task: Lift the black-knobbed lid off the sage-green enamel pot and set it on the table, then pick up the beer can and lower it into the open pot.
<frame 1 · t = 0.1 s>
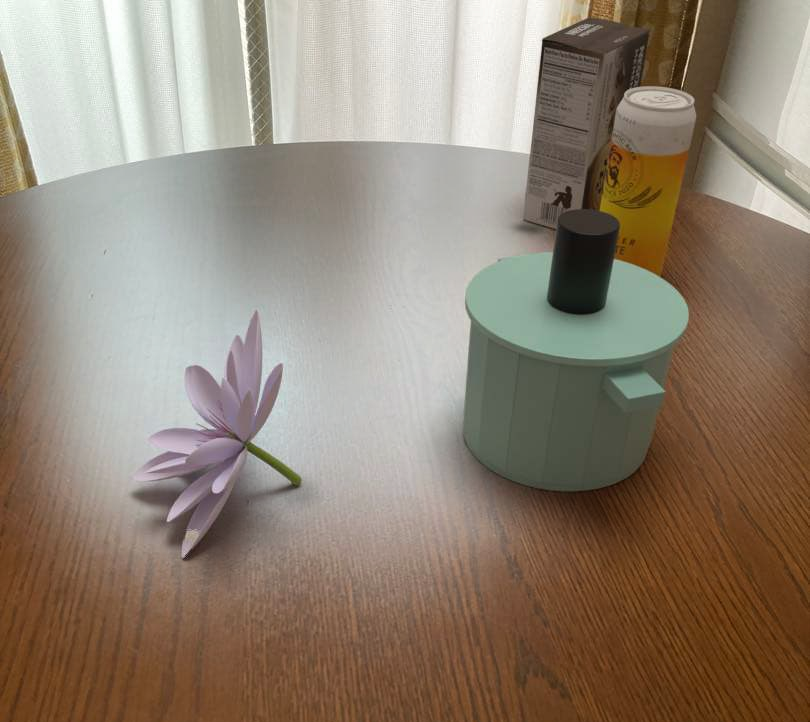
water lily: (218, 491, 58), on the table
coffee box: (571, 215, 91), on the table
pot: (554, 433, 63), on the table
lid: (574, 307, 57), point 9 cm above the table, touching pot
beer can: (623, 281, 81), on the table
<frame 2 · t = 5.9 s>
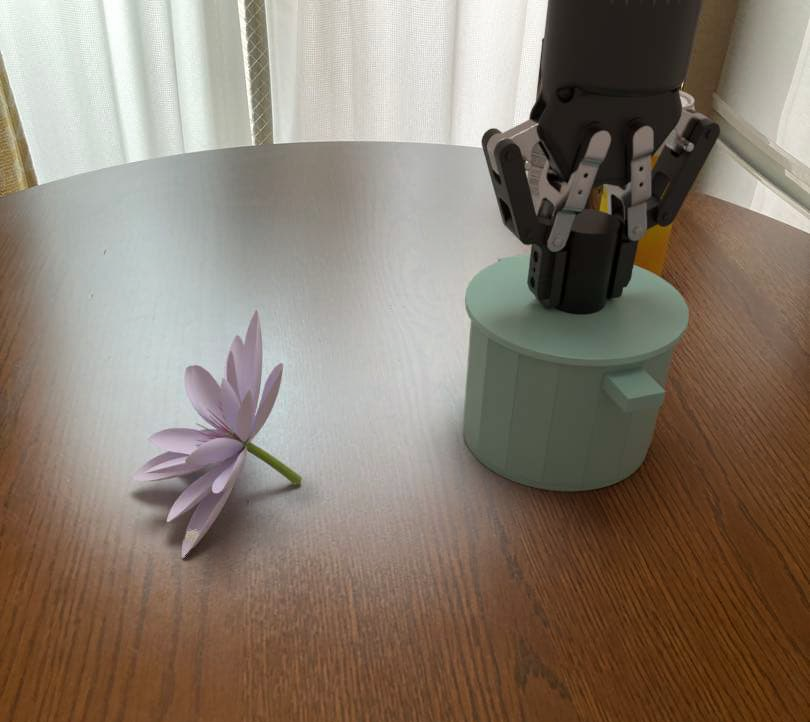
hand: (577, 295, 56), 10 cm above the table, tool pointing down, fingers closed on lid, 3 cm apart
lid: (575, 307, 57), point 10 cm above the table, touching gripper, pot
everything else where it was.
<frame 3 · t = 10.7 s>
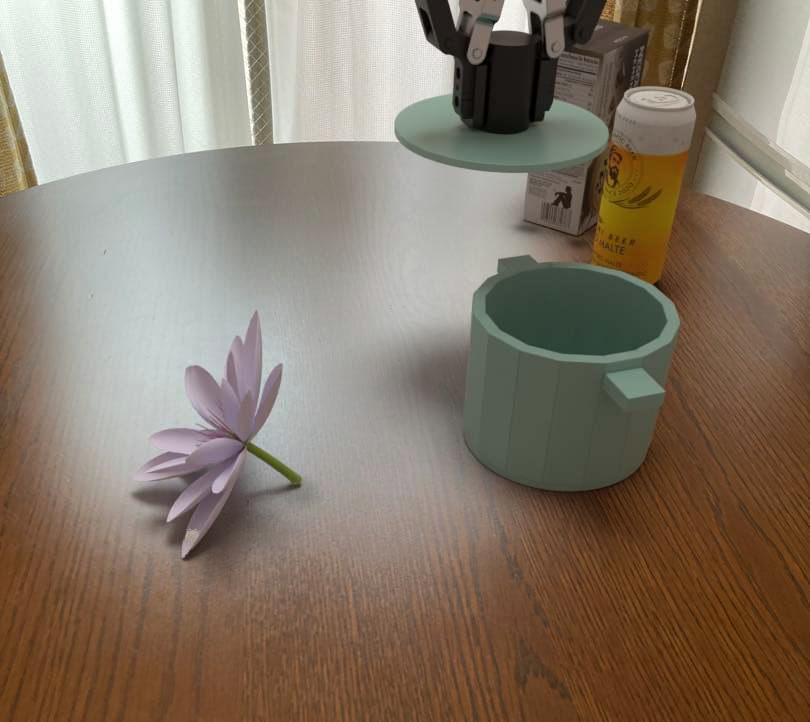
hand: (501, 119, 58), 17 cm above the table, tool pointing down, fingers closed on lid, 3 cm apart
lid: (500, 133, 59), point 17 cm above the table, touching gripper
everything else where it was.
when the fingers open (1 cm above the table, at t = 15.7 s): lid stays where it is, point 1 cm above the table.
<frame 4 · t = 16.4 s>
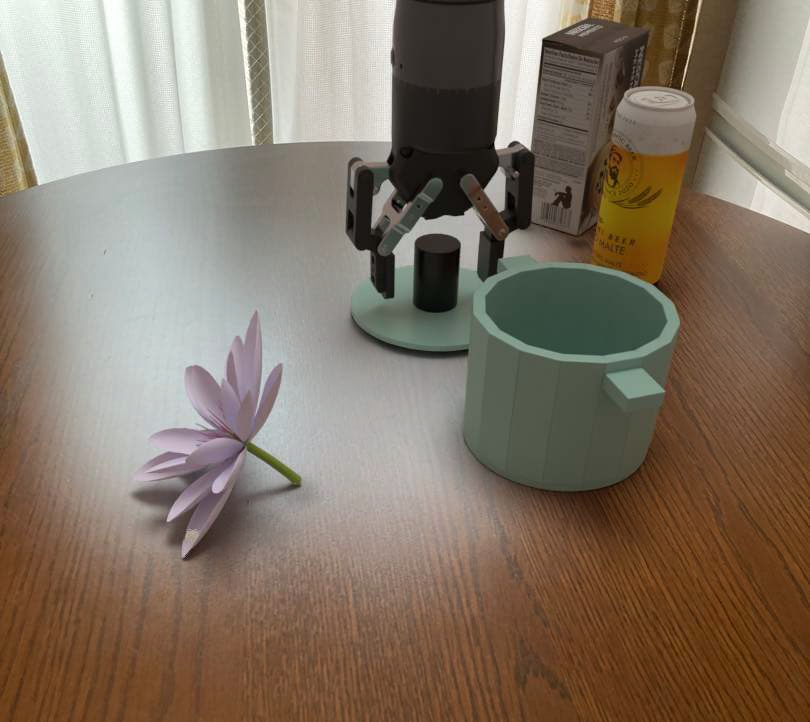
hand: (436, 287, 74), 2 cm above the table, tool pointing down, fingers open, 8 cm apart
lid: (434, 307, 75), point 1 cm above the table
everything else where it was.
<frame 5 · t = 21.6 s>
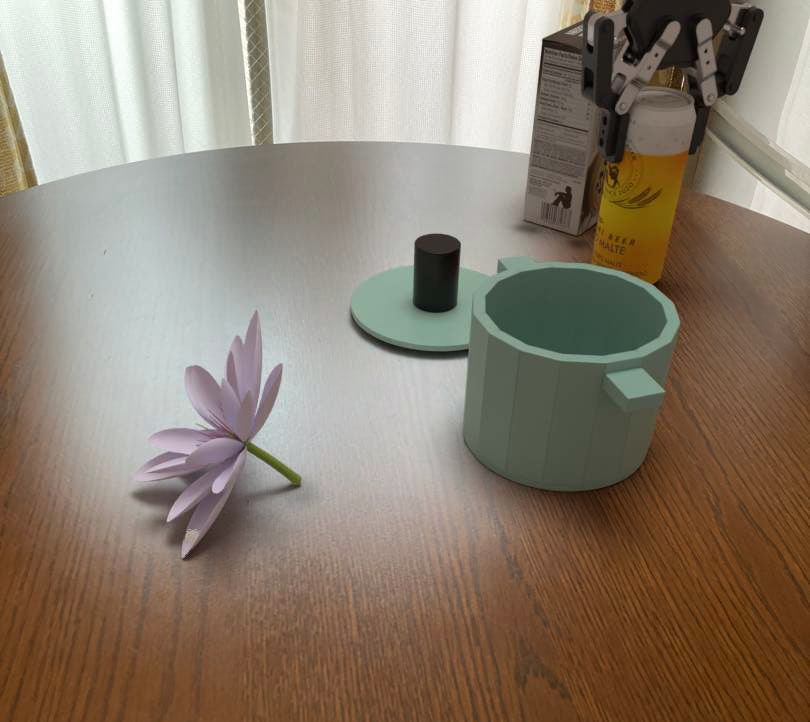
hand: (648, 155, 73), 11 cm above the table, tool pointing down, fingers closed on beer can, 6 cm apart
beer can: (623, 281, 81), on the table, touching gripper
everything else where it was.
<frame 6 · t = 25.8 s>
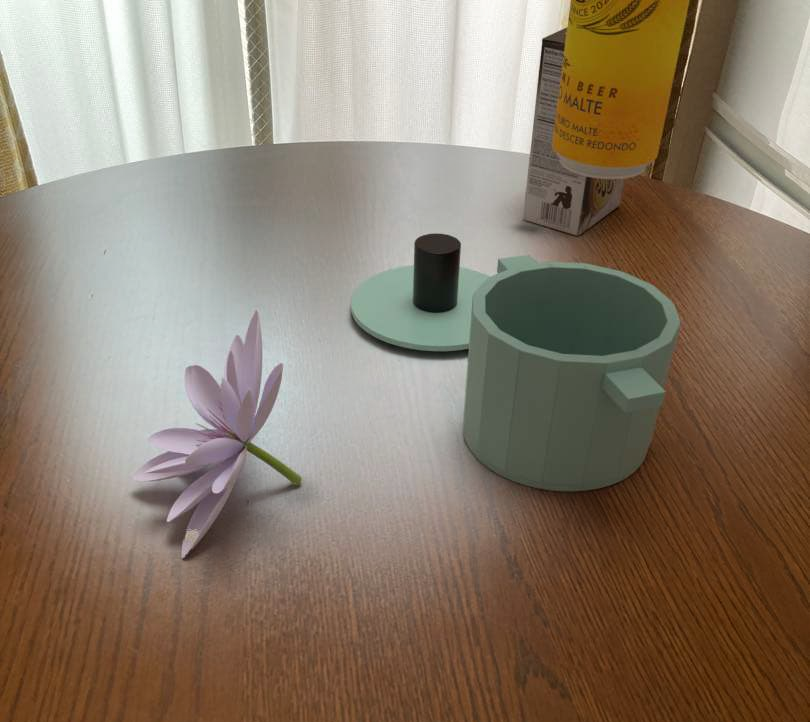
beer can: (601, 166, 54), point 17 cm above the table, touching gripper
everything else where it was.
when the fingers open (11 cm above the table, at t = 30.3 s): beer can stays where it is, resting on pot.
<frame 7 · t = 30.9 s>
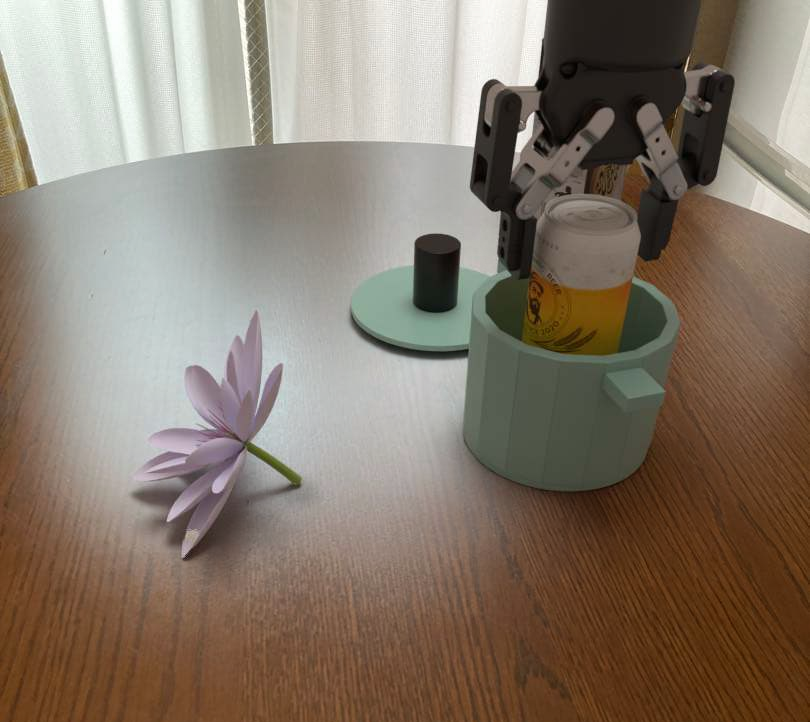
hand: (582, 264, 55), 12 cm above the table, tool pointing down, fingers open, 8 cm apart
beer can: (556, 429, 63), resting on pot
everything else where it was.
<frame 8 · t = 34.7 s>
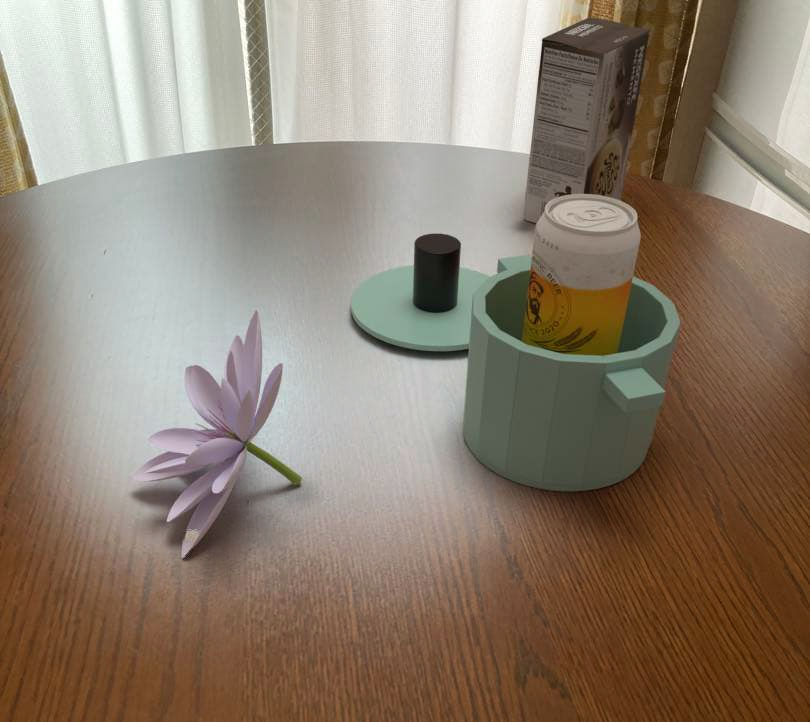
nothing on the table moved.
at the end: lid inside the target area (0.4 cm from its centre), point 0.6 cm above the table; beer can 0.1 cm off-centre in the pot, point 0.3 cm above the pot's base; beer can tilted 0° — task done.
